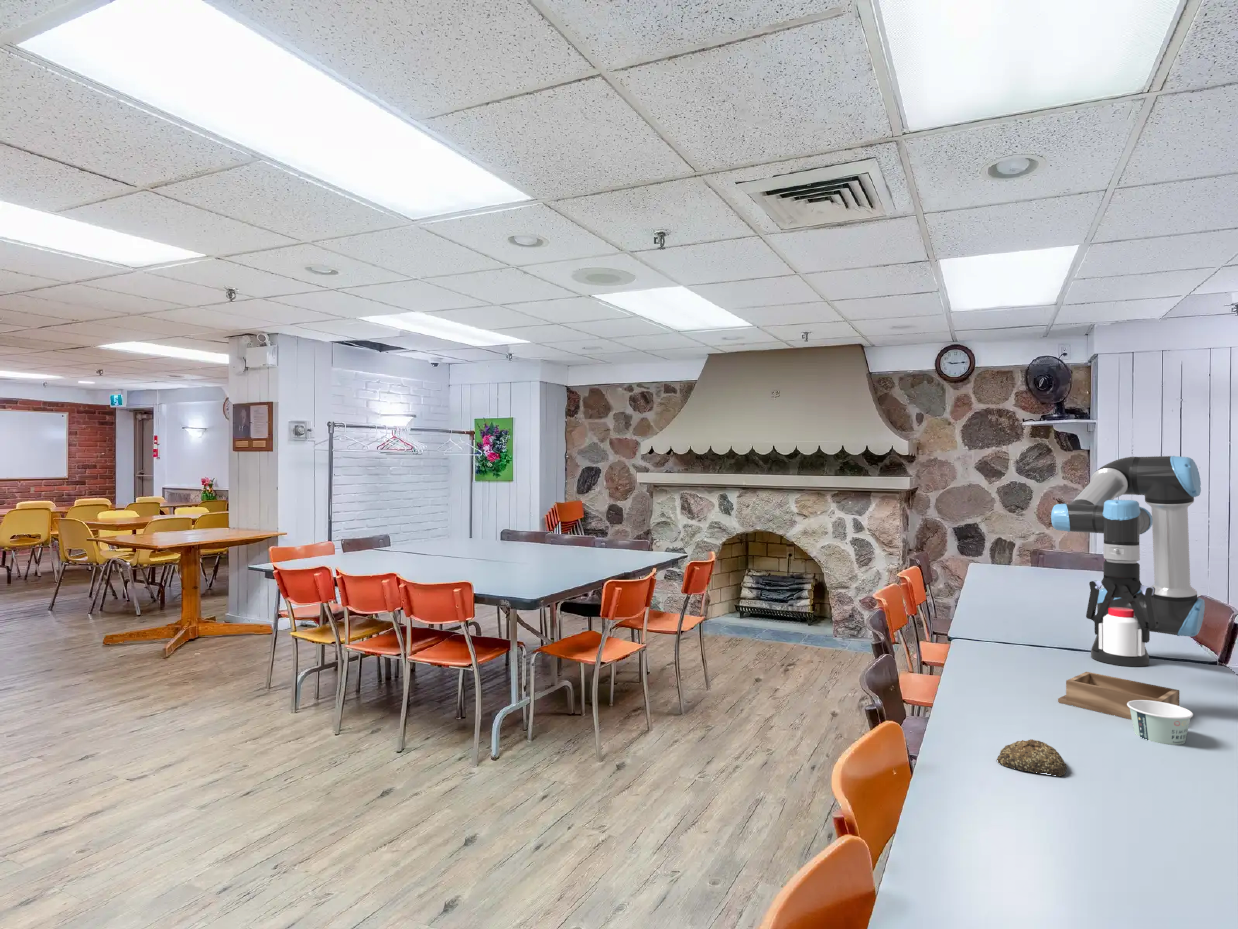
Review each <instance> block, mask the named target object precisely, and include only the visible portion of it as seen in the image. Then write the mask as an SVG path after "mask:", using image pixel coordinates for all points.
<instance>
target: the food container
mask: <svg viewBox="0 0 1238 929" xmlns="http://www.w3.org/2000/svg"><path fill="white" fill-rule="evenodd" d="M1127 706H1128V707H1129V708H1130V713H1131V718H1132V720H1131V722H1132V726H1133V727H1132V728H1133V732H1135V733H1134V734H1135V735H1136V736H1137V735H1138V736H1140V737H1142V738H1141V739H1143V738H1144V739H1143V740H1145V739H1147V740H1146V741H1148V740H1150V742H1153V743H1157V744H1162V745H1171V746H1172V745H1173V746H1174V745H1175V746H1177V745H1183V744H1185V743H1186V739H1187V735H1188V731H1189V725H1190V721H1191V718H1193V716H1194V713H1193V712H1192V711H1191V710H1189V709H1187V708H1185V707H1183V706H1180V705H1179V706H1177V705H1173V704H1169V703H1164V702H1158V701H1150V700H1133V701H1129V702H1128V703H1127ZM1138 736H1137V737H1138ZM1140 737H1139V738H1140Z"/></svg>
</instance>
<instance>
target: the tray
mask: <svg viewBox="0 0 1238 929" xmlns="http://www.w3.org/2000/svg"><path fill="white" fill-rule="evenodd" d="M1133 700H1150V701H1158V702H1164V703H1169V704H1173V705H1177V706H1180V689H1176V688H1170V687H1167V686H1166V687H1165V686H1160V685H1155V684H1151V683H1145V682H1140V681H1136V680H1130V679H1125V678H1121V677H1114V676H1110V675H1104V674H1100V673H1095V672H1091V671H1085V672H1082V673H1080V674H1078V675H1075V676H1074V677H1071V678H1069V679H1066V681H1065V694H1064V695H1063V696H1061V697H1059V698H1057V703H1058V702H1059V703H1060V704H1064V705H1067V706H1071V705H1073V706H1072V707H1075V706H1076V707H1075V708H1080V709H1084V708H1085V709H1086V710H1089V711H1092V712H1093V711H1094V712H1097V713H1101V712H1102V713H1101V714H1106V715H1110V716H1114V715H1115V717H1119V718H1122V719H1128V720H1131V721H1132V718H1131V713H1130V708H1129V707H1128V706H1127V703H1128V702H1129V701H1133ZM1085 709H1084V710H1085Z"/></svg>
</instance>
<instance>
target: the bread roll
mask: <svg viewBox="0 0 1238 929" xmlns="http://www.w3.org/2000/svg"><path fill="white" fill-rule="evenodd" d="M997 760H998V762H997V764H999V763H1000V764H1002V765H1004V766H1003V767H1005V766H1006V768H1008V767H1011V768H1015V769H1018V770H1017V771H1019V770H1023V771H1022V772H1024V771H1029V772H1028V773H1030V772H1034V773H1033V774H1035V773H1036V772H1037V773H1047V774H1051V775H1056V776H1055V777H1063V776H1065V775H1066V773H1067V764H1066V763H1065V760H1064V759H1063V757H1062V756H1061V754H1060V753H1059V752H1058V751H1057V749H1055V748H1054V747H1053V746H1051V745H1049V744H1048V743H1045V742H1044V741H1041V740H1038V739H1037V740H1035V739H1028V740H1023V739H1022V740H1017V741H1015V742H1012V743H1010V744H1006V745H1004V747H1003V748H1001V749H1000V752H999V755H998V756H997V758H996V761H997ZM1000 764H999V765H1000ZM1002 765H1001V766H1002ZM1011 768H1010V769H1011ZM1015 769H1014V770H1015ZM1065 772H1066V773H1065ZM1062 775H1063V776H1062Z"/></svg>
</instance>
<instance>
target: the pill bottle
mask: <svg viewBox="0 0 1238 929" xmlns="http://www.w3.org/2000/svg"><path fill="white" fill-rule="evenodd" d="M1139 628H1140V624H1139V622H1138V620H1137V618H1136V617H1135V613H1134V611H1133V609H1130V608H1124V607H1109V608H1108V614H1107V615H1105V616H1104V617H1103V651H1104V652H1106V653H1109V654H1114V655H1119V656H1138V629H1139Z"/></svg>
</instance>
